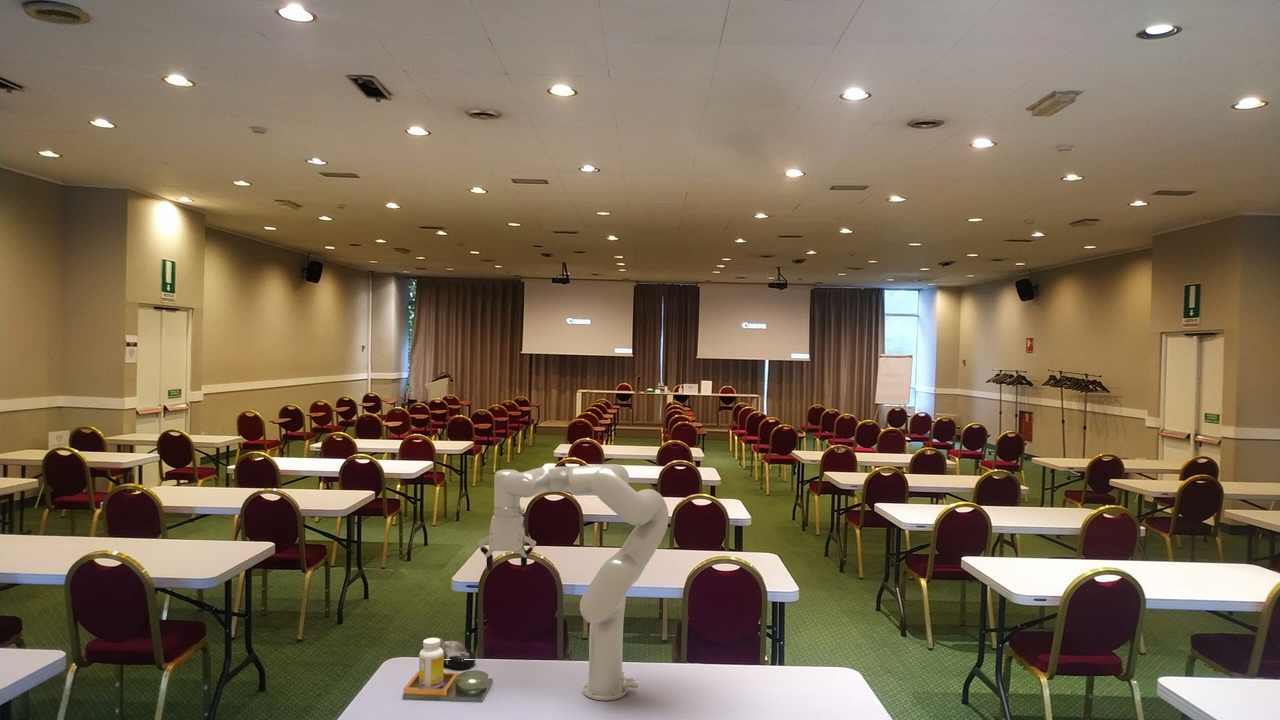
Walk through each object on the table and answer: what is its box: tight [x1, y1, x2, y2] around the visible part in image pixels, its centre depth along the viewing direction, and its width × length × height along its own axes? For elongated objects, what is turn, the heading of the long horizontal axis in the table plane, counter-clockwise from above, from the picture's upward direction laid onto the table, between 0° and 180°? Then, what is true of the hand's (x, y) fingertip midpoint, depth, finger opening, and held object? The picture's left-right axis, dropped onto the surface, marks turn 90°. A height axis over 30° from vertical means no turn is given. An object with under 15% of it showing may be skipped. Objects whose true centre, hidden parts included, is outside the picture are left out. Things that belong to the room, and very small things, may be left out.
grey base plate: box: [402, 669, 494, 703], centre depth 218 cm, size 22×13×4 cm, turn 88°
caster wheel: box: [439, 637, 477, 671], centre depth 237 cm, size 7×11×10 cm
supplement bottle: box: [418, 637, 445, 688], centre depth 218 cm, size 7×7×13 cm
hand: (506, 569), depth 228 cm, fingers open, 9 cm apart
